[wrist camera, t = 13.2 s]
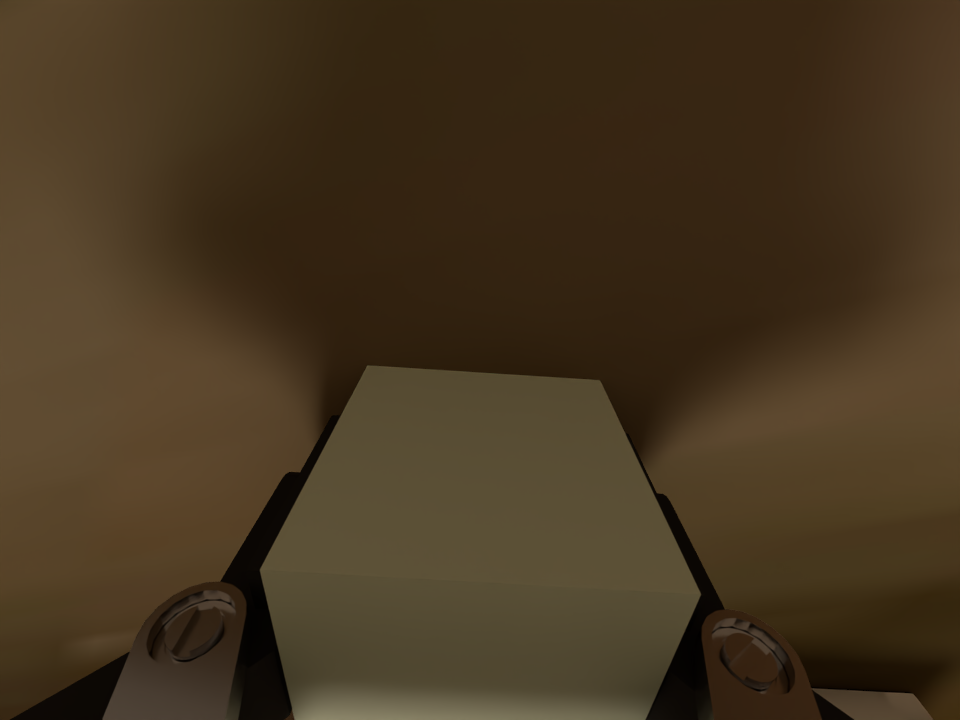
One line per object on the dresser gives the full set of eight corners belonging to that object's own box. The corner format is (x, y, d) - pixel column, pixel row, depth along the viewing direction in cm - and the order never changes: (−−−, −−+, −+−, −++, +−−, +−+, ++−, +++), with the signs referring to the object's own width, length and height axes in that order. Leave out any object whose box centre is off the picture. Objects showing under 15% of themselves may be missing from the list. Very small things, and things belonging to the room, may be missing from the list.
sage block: (600, 379, 10) (700, 593, 5) (564, 543, 12) (612, 792, 7) (367, 365, 9) (259, 569, 5) (377, 532, 12) (308, 778, 7)
